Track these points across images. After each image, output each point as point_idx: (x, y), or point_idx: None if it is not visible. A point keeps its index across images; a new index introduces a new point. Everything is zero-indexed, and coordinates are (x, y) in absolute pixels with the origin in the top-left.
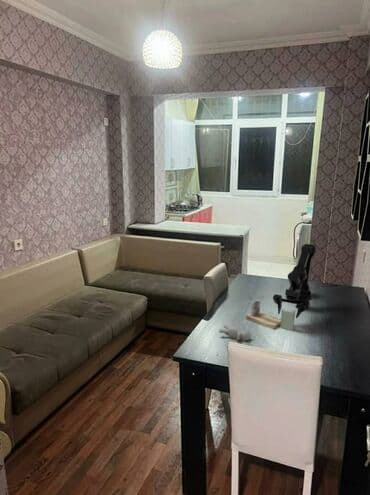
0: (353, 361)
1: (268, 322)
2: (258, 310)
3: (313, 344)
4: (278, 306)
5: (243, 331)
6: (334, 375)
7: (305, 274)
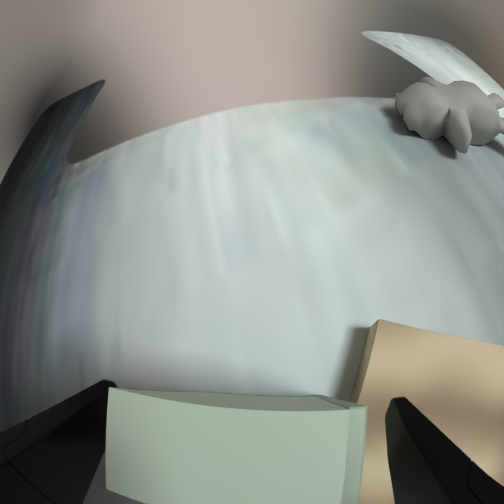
0: (5, 200)
1: (441, 363)
2: None
3: (78, 242)
4: (472, 477)
5: (439, 96)
6: (75, 109)
7: None
